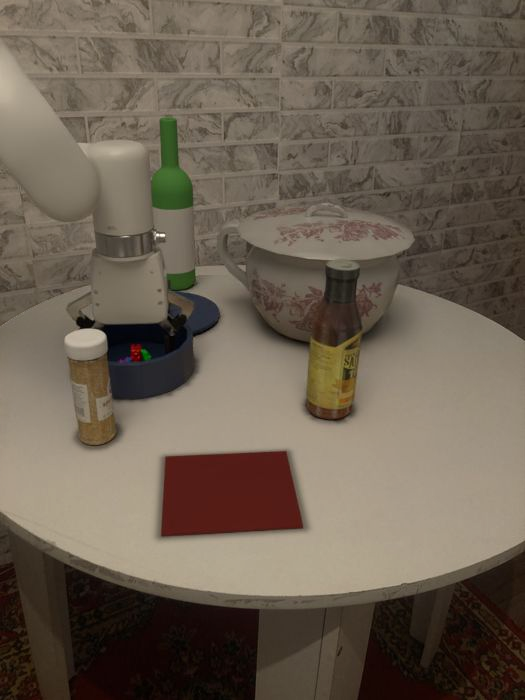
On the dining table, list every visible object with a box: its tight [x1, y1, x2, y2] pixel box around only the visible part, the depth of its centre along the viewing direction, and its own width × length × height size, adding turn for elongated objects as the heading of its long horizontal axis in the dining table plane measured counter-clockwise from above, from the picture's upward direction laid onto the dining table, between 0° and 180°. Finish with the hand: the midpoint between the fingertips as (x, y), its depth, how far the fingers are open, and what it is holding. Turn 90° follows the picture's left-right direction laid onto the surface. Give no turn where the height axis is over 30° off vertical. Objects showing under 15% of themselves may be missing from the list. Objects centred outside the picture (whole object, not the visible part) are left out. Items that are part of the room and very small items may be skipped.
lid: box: [167, 280, 220, 335], centre depth 100 cm, size 18×18×6 cm
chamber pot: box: [215, 202, 416, 343], centre depth 96 cm, size 28×28×21 cm
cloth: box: [160, 450, 304, 537], centre depth 64 cm, size 14×12×1 cm
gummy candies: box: [118, 344, 151, 362], centre depth 85 cm, size 5×3×4 cm, turn 88°
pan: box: [77, 315, 195, 400], centre depth 85 cm, size 17×17×5 cm
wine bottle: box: [151, 117, 196, 291], centre depth 108 cm, size 8×8×30 cm
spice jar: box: [63, 329, 118, 446], centre depth 69 cm, size 5×5×14 cm
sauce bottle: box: [305, 259, 363, 420], centre depth 74 cm, size 6×6×20 cm
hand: (135, 357), depth 85 cm, fingers open, 9 cm apart
